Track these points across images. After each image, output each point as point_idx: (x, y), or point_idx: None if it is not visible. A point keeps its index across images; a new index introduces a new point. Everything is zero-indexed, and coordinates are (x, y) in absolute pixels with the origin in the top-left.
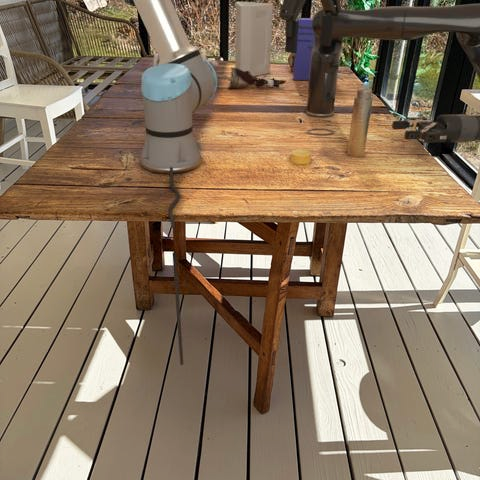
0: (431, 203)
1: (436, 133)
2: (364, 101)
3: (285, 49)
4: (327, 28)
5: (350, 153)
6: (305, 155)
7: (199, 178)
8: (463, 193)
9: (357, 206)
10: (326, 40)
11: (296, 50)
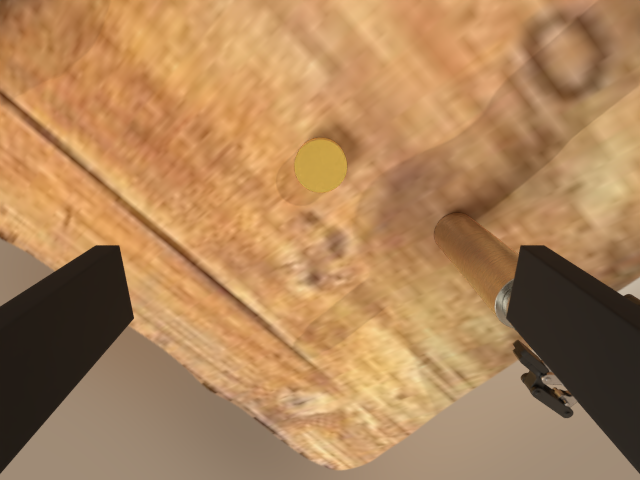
0: (323, 426)
1: (546, 404)
2: (496, 315)
3: (88, 253)
4: (591, 372)
5: (436, 232)
6: (312, 186)
7: (37, 52)
8: (396, 442)
9: (222, 360)
10: (529, 314)
11: (125, 326)
